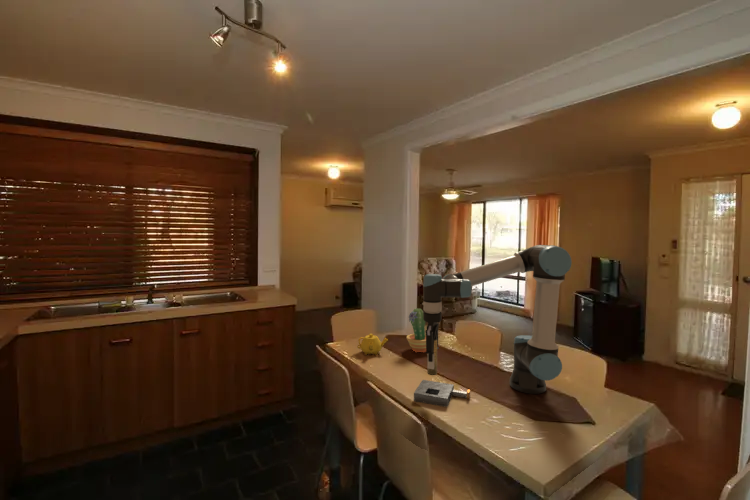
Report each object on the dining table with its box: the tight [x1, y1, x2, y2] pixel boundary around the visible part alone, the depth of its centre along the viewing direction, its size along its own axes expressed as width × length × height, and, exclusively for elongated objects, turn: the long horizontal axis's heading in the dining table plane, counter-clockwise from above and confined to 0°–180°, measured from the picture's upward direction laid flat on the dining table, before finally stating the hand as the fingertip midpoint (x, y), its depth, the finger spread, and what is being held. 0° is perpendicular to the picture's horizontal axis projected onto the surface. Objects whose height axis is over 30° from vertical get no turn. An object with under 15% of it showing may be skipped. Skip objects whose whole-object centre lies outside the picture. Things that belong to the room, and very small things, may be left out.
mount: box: [413, 379, 455, 408], centre depth 149 cm, size 14×14×4 cm
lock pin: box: [452, 389, 471, 400], centre depth 150 cm, size 13×3×3 cm, turn 67°
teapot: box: [357, 333, 389, 356], centre depth 204 cm, size 14×14×11 cm
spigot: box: [426, 339, 438, 376], centre depth 145 cm, size 4×4×14 cm
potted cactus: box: [406, 308, 427, 353], centre depth 207 cm, size 15×15×25 cm
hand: (432, 366), depth 145 cm, fingers closed on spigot, 4 cm apart
